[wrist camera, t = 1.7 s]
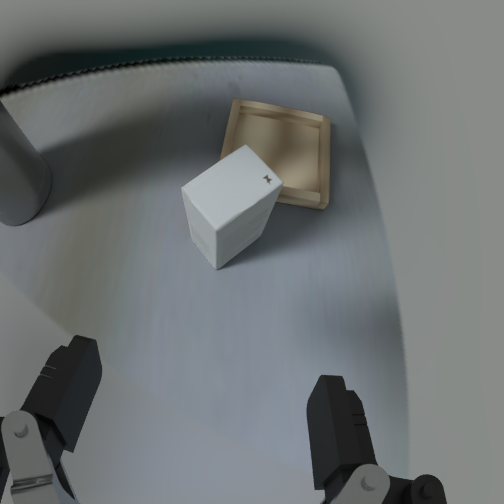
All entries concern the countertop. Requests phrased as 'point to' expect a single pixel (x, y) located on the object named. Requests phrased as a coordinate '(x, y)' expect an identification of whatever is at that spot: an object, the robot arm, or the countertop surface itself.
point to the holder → (285, 148)
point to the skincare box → (230, 204)
